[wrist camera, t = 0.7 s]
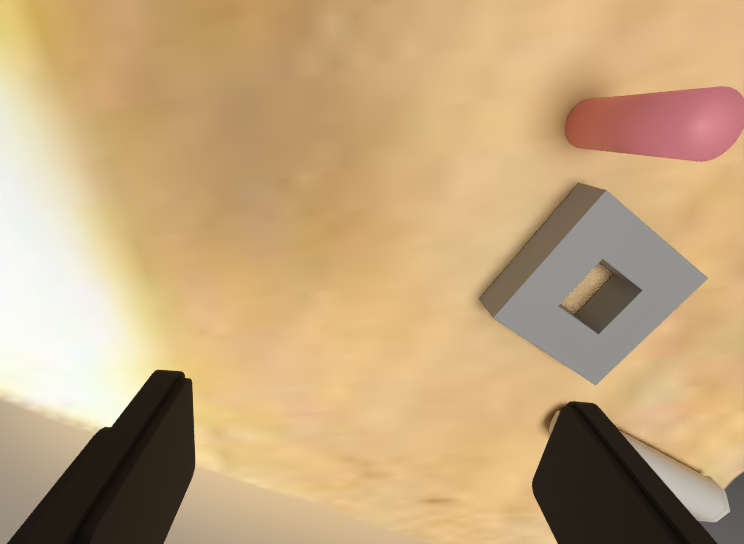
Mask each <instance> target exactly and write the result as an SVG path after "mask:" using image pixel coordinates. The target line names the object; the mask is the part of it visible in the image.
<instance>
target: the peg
mask: <svg viewBox="0 0 744 544" xmlns="http://www.w3.org/2000/svg"><path fill="white" fill-rule="evenodd" d="M743 128H744V98H743V97H742V95H741V94H740V93H739V92H738V91H737V90H735V89H733V88H730V87H711V88H701V89H690V90H680V91H669V92H659V93H648V94H638V95H627V96H616V97H606V98H595V99H588V100H585V101H582V102H581V103H579V104H578V105H577V106H575V107H574V108H573V110H572V111H571V112H570V114H569V116H568V118H567V121H566V127H565V131H566V136H567V139H568V140H569V142H570V143H571V144H572V145H573V146H575V147H578V148H583V149H591V150H600V151H609V152H618V153H627V154H636V155H645V156H653V157H662V158H671V159H680V160H689V161H699V162H702V161H708V160H712V159H714V158H716V157H718V156H720V155H722V154H723V153H724V152H726V151H727V150H728V149H729V148H730V147H731V146H732V145H733V144H734V143H735V142H736V140H737V139H738V137H739V136H740V134H741V132H742V130H743Z"/></svg>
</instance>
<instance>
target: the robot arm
mask: <svg viewBox="0 0 744 544" xmlns="http://www.w3.org/2000/svg"><path fill="white" fill-rule="evenodd" d="M194 469H195V442H194V417H193V392H192V380H191V379H189V378H185V375H184V373H183V372H181V371H168V370H156V371H155V372H154V373H153V374H152V375H151V376H150V378H149V379H148V380H147V381H146V383H145V384H144V385H143V387H142V388H141V389H140V391H139V392H138V393H137V394H136V396H135V397H134V398H133V400H132V401H131V402H130V403H129V405H128V406H127V407H126V409H125V410H124V411H123V413H122V414H121V415H120V416H119V418H118V419H117V420H116V422H115V423H114V424H113V426H112V427H104V428H102V429H101V430H99V431H98V432H97V433H96V434H95V435H94V436H93V438H92V439H91V440H90V441H89V443H88V444H87V445H86V446H85V447H84V449H83V450H82V451H81V452H80V454H79V455H78V456H77V457H76V459H75V460H74V461H73V462H72V464H71V465H70V466H69V467H68V469H67V470H66V471H65V472H64V474H63V475H62V476H61V477H60V478H59V480H58V481H57V482H56V483H55V485H54V486H53V487H52V488H51V490H50V491H49V492H48V493H47V495H46V496H45V497H44V498H43V500H42V501H41V502H40V503H39V504H38V506H37V507H36V508H35V510H34V511H33V512H32V513H31V514H30V516H29V517H28V518H27V519H26V521H25V522H24V523H23V524H22V526H21V527H20V528H19V529H18V531H17V532H16V533H15V534H14V536H13V537H12V538H11V539H10V541H9V542H8V543H7V544H163V543H164V541H165V539H166V537H167V534H168V532H169V530H170V527H171V525H172V523H173V520H174V518H175V516H176V514H177V511H178V509H179V507H180V505H181V502H182V500H183V498H184V495H185V493H186V491H187V489H188V486H189V484H190V482H191V479H192V477H193V473H194ZM532 489H533V494H534V496H535V498H536V500H537V502H538V504H539V506H540V508H541V510H542V512H543V514H544V517H545V519H546V521H547V523H548V525H549V527H550V529H551V531H552V533H553V535H554V537H555V539H556V541H557V543H558V544H717V543H716V541H715V540H714V539H713V538H712V537H711V536H710V534H708V532H707V531H706V530H705V529H704V528H703V526H702V525H701V524H700V523H699V522H698V521H697V520H696V518H695V517H694V516H693V515H692V514H691V513H690V511H689V510H688V509H687V508H686V507H685V506H684V505H683V503H682V502H681V501H680V500H679V499H678V498H677V497H676V495H675V494H674V493H673V492H672V491H671V490H670V488H669V487H668V486H667V485H666V484H665V483H664V482H663V480H662V479H661V478H660V477H659V476H658V475H657V474H656V472H655V471H654V470H653V469H652V468H651V467H650V465H649V464H648V463H647V462H646V461H645V460H644V459H643V457H642V456H641V455H640V454H639V453H638V452H637V451H636V449H635V448H634V447H633V446H632V445H631V444H630V442H629V441H628V440H627V439H626V438H625V437H624V436H623V434H622V433H621V432H620V431H619V430H618V429H617V428H616V426H615V425H614V424H613V423H612V422H611V421H610V419H609V418H608V417H607V416H606V415H605V414H604V413H603V411H602V410H601V409H600V408H599V407H598V406H597V405H596V404H593V403H586V402H569V403H568V404H567V405H566V407H563V408H562V409H561V410H560V413H559V415H558V418H557V420H556V423H555V425H554V428H553V430H552V433H551V435H550V438H549V440H548V443H547V445H546V448H545V450H544V453H543V455H542V458H541V460H540V463H539V465H538V468H537V470H536V473H535V475H534V478H533V481H532Z"/></svg>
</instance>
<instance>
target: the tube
mask: <svg viewBox="0 0 744 544" xmlns="http://www.w3.org/2000/svg"><path fill="white" fill-rule="evenodd" d="M559 413H560V410H559V411H556V413H555V415H554V416H553V418H552V420H551V423H550V428H549V433H550V435H551V433H552V430H553V428H554V425H555V423H556V420H557V418H558V415H559ZM619 431H620V430H619ZM620 432H621V431H620ZM621 433H622V434H623V436H624V437H625V438H626V439H627V440H628V441H629V442H630V444H631V445H632V446H633V447H634V448H635V449H636V451H637V452H638V453H639V454H640V455H641V456H642V457H643V459H644V460H645V461H646V462H647V463H648V464H649V465H650V467H651V468H652V469H653V470H654V471H655V472H656V474H657V475H658V476H659V477H660V478H661V479H662V480H663V482H664V483H665V484H666V485H667V486H668V487H669V488H670V490H671V491H672V492H673V493H674V494H675V495H676V497H677V498H678V499H679V500H680V501H681V502H682V503H683V505H684V506H685V507H686V508H687V509H688V510H689V511H690V513H691V514H692V515H693V516H694V517H695V518H696V520H697V521H709V522H717V521H718V520H719V519H721V518H722V517H723V516H725V515H726V514H727V513H728V512H730V509H729V505H728V500H727V496H726V492H725V491H724V490H723V489H722V488H721V487H720V486H719V485H718V484H717V483H716V482H715V481H714V480H713V479H712V478H711V477H710V476H704V475H702V474H700V473H698V472H696V471H694V470H692V469H691V468H689V467H687V466H685V465H683V464H681V463H679V462H678V461H676V460H674V459H672V458H670V457H668V456H666V455H664V454H663V453H661V452H659V451H657V450H655V449H653V448H651V447H649V446H648V445H646V444H644V443H642V442H640V441H638V440H636V439H635V438H633V437H631V436H629V435H627V434H625V433H623V432H621Z"/></svg>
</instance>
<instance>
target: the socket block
mask: <svg viewBox="0 0 744 544" xmlns="http://www.w3.org/2000/svg"><path fill="white" fill-rule="evenodd" d="M598 263H601V264H602V265H603V266H605V267H606V268H607V269H608V270H610V271H611V272H612V273H613V274H614V275H613V276H612V277H611V278H610V279H609V280H608V281H607V282H606V283H605V284H604V285H603V286H602V287H601V288H600V289H599V290H598V291H597V292H596V293H595V295H594V296H593V297H592V298H591V299H590V300H589V301H588V302H587V303H586V304H585V305H584V306H583V307H582V308H581V309H580V310H579V311H578V312H577V313H576V314H573V313H572V312H571V311H569V310H568V309H566V308H565V307H564V306H562V305H561V303H562V301H563V300H564V299H565V298H566V297H567V296H568V295H569V294H570V293H571V292H572V291H573V290H574V289H575V288H576V286H577V285H578V284H579V283H580V282H581V281H582V280H583V279H584V278H585V277H586V276H587V275H588V274H589V273H590V272H591V270H592V269H593V268H594V267H595V266H596V265H597V264H598ZM707 279H708V278H707V277H706V276H705V275H704V274H703V273H702V272H700V271H699V270H698V269H697V268H696V267H695V266H693V265H692V264H691V263H690V262H689V261H688V260H687V259H685V258H684V257H683V256H682V255H681V254H680V253H678V252H677V251H676V250H675V249H674V248H673V247H671V246H670V245H669V244H668V243H667V242H666V241H665V240H663V239H662V238H661V237H660V236H659V235H658V234H656V233H655V232H654V231H653V230H652V229H651V228H649V227H648V226H647V225H646V224H645V223H644V222H643V221H641V220H640V219H639V218H638V217H637V216H636V215H634V214H633V213H632V212H631V211H630V210H629V209H627V208H626V207H625V206H624V205H623V204H622V203H621V202H619V201H618V200H617V199H616V198H615V197H614V196H612V195H611V194H610V193H609V192H608V191H607V190H603V189H600V188H596V187H592V186H588V185H584V184H581V183H578V184H577V186H576V187H575V188H574V189H573V190H572V191H571V193H570V194H569V195H568V196H567V197H566V198H565V200H564V201H563V202H562V203H561V204H560V205H559V207H558V208H557V209H556V210H555V211H554V212H553V214H552V215H551V216H550V217H549V218H548V219H547V221H546V222H545V223H544V224H543V225H542V226H541V228H540V229H539V230H538V231H537V232H536V233H535V235H534V236H533V237H532V238H531V239H530V240H529V242H528V243H527V244H526V245H525V246H524V247H523V249H522V250H521V251H520V252H519V253H518V254H517V256H516V257H515V258H514V259H513V260H512V261H511V263H510V264H509V265H508V266H507V267H506V268H505V270H504V271H503V272H502V273H501V274H500V275H499V277H498V278H497V279H496V280H495V281H494V282H493V284H492V285H491V286H490V287H489V288H488V289H487V291H486V292H485V293H484V294H483V295H482V296H481V298H480V301H481V302H482V303H483V305H484V306H485V308H486V309H487V310H488V312H489V313H490V314H491V316H492V317H493V318H494V319H496V320H497V321H499V322H500V323H502V324H503V325H505V326H506V327H508V328H509V329H511V330H512V331H514V332H515V333H517V334H518V335H520V336H521V337H523V338H524V339H526V340H527V341H529V342H531V343H532V344H534V345H535V346H537V347H538V348H540V349H541V350H543V351H544V352H546V353H547V354H549V355H550V356H552V357H553V358H555V359H556V360H558V361H559V362H561V363H562V364H564V365H565V366H567V367H569V368H570V369H572V370H573V371H575V372H576V373H578V374H579V375H581V376H582V377H584V378H585V379H587V380H588V381H590V382H591V383H593V384H594V385H597V384H598V383H599V382H600V381H601V380H602V379H603V378H604V377H605V376H606V375H607V374H608V373H609V372H610V371H611V370H612V369H613V368H614V367H616V366H617V365H618V364H619V363H620V362H621V361H622V360H623V359H624V358H625V357H626V356H627V355H628V354H629V353H630V352H631V351H632V350H633V349H634V348H635V347H637V346H638V345H639V344H640V343H641V342H642V341H643V340H644V339H645V338H646V337H647V336H648V335H649V334H650V333H651V332H652V331H653V330H654V329H655V328H656V327H658V326H659V325H660V324H661V323H662V322H663V321H664V320H665V319H666V318H667V317H668V316H669V315H670V314H671V313H672V312H673V311H674V310H675V309H676V308H677V307H679V306H680V305H681V304H682V303H683V302H684V301H685V300H686V299H687V298H688V297H689V296H690V295H691V294H692V293H693V292H694V291H695V290H696V289H697V288H699V287H700V286H701V285H702V284H703V283H704V282H705V281H706V280H707Z"/></svg>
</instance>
